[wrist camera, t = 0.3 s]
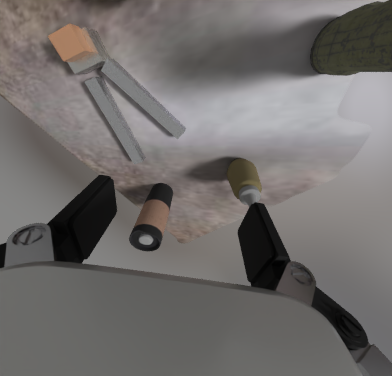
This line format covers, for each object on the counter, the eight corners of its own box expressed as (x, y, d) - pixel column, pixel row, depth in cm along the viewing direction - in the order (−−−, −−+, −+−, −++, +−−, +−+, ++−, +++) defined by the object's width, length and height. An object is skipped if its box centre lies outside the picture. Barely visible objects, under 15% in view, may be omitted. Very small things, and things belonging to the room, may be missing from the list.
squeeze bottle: (221, 174, 50) (228, 217, 35) (232, 150, 45) (245, 188, 30) (245, 181, 51) (261, 225, 36) (258, 158, 46) (283, 199, 32)
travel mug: (169, 203, 57) (155, 254, 41) (148, 195, 56) (125, 246, 40) (177, 187, 53) (164, 238, 37) (154, 178, 52) (131, 227, 36)
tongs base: (70, 45, 33) (55, 42, 30) (96, 31, 32) (84, 26, 29) (136, 160, 48) (131, 166, 45) (157, 153, 47) (153, 159, 43)
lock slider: (58, 38, 30) (47, 36, 28) (78, 26, 29) (69, 23, 27) (72, 62, 32) (63, 61, 30) (92, 52, 31) (84, 50, 29)
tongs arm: (107, 70, 36) (101, 70, 33) (113, 58, 34) (107, 57, 32) (178, 135, 43) (177, 139, 41) (185, 127, 42) (184, 131, 40)
